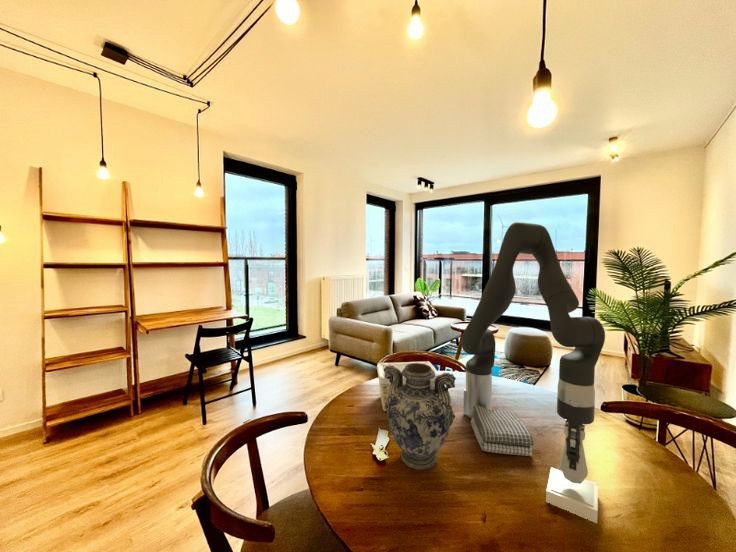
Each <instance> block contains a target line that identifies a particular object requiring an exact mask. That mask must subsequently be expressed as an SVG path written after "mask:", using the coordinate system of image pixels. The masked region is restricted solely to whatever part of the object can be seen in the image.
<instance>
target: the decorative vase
mask: <svg viewBox="0 0 736 552" xmlns="http://www.w3.org/2000/svg"><path fill="white" fill-rule="evenodd" d="M384 372H385V376H384V378H386V379H389V381H390V383H391V384H390V387H389V396H388V398H387V402H386V404H385V409H386V411H387V412H386V415H387V420H388V425H389V430H390V432H391V435H392V437H393V439H394V441H395V443H396V445H397V446H398V447H399V448H400V449H401V453H400V458H401V461H402V462H403V464H404V465H406V466H407V467H408V468H411V469H413V470H419V471H421V470H422V471H423V470H429V469H431V468H432V467H434V466H436V463H437V459H438V458H437V454H436V453H438V452H439V451H440V450H441V448H442V447H443V445H444V444H445V442H446V440H447V438H448V435H449V432H450V427H451V426H452V424H453V422H454V420H455V418H456V415H455V412H454V410H453V408H452V405H451V403H452V398H451V394H450V392H449V390H450V389H452V388H456V384H455V380H456V377H455V376H454V374H453V373H450V372H443V373H441V374H439V376H438V377H437V378H436V379H435V386H434V385H431V381H430V380H431V379H433V378H434V377H435V372H434V371H433V370H432V369H431V367H430V366H428V365H425V364H420V363H413V364H408V365H406V367H405V368H404V369H403V370H402V373H401V371H400V370H399V369H397V368H395V367H394V366H391V365H389V366H385V368H384ZM393 376H394V377H393ZM403 376H404V377H405V378H406V383H405V384H403ZM393 379H394V380H393Z"/></svg>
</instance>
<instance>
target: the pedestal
mask: <svg viewBox="0 0 736 552" xmlns="http://www.w3.org/2000/svg"><path fill="white" fill-rule="evenodd" d="M598 487H599V486H598V483H596V482H594V481H590V480H588V479H586V478H585V479H584V480H583V481H582V483H581V484H578V483H572V482H570V481H569V480H567V479H566V478H565V477H564V475H563V473H562V471H561V469H558V468H554V467H550V472H549V477H548V482H547V486H546V490H545V492H546V493H545V494H546V495H545V502H546V503H547V504H549V503H550V505H552V506H554V507H556V506H557V507H556V508H560V509H562V510H564V511H566V510H567V512H568V511H569V512H568V513H571V514H573V515H575V514H576V516H578V517H580V518H582V519H585V520H587V519H588V520H587V521H590V522H592V523H594V524H598V515H599V514H598V511H599V510H598V509H599V504H598V501H599V500H598V499H599V497H598V495H599V494H598V492H599V489H598Z"/></svg>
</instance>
